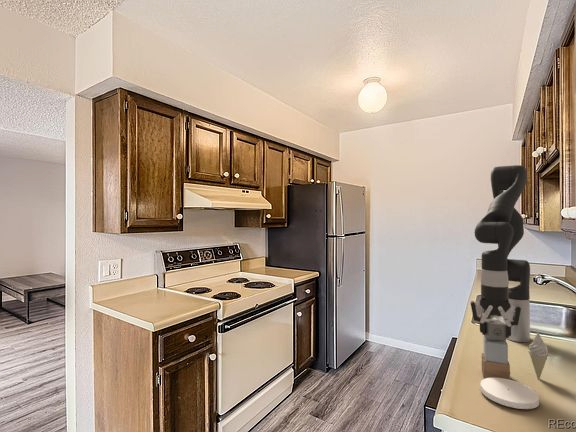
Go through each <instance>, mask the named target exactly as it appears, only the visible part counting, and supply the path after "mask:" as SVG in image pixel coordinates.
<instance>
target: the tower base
mask: <svg viewBox="0 0 576 432" xmlns="http://www.w3.org/2000/svg"><path fill="white" fill-rule="evenodd" d="M481 373H482V378H483V379H486V378H490V377H491V378H492V377H493V378H494V377H495V378H505V379H509V380H511V364H510V362H509V361H508V364H502V363H496V362H490V361H485V357H484V352H481ZM483 379H482V380H483Z"/></svg>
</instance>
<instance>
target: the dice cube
mask: <svg viewBox="0 0 576 432" xmlns="http://www.w3.org/2000/svg"><path fill="white" fill-rule="evenodd" d="M484 323H485V335H483V337H484V336H485V337H487V338H488V339H489V340H506V341H507V339H506V324H504V323H503V322H502V321H501V320H500V319H497V318H496V319H491V318H486V320H485V322H484Z"/></svg>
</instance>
